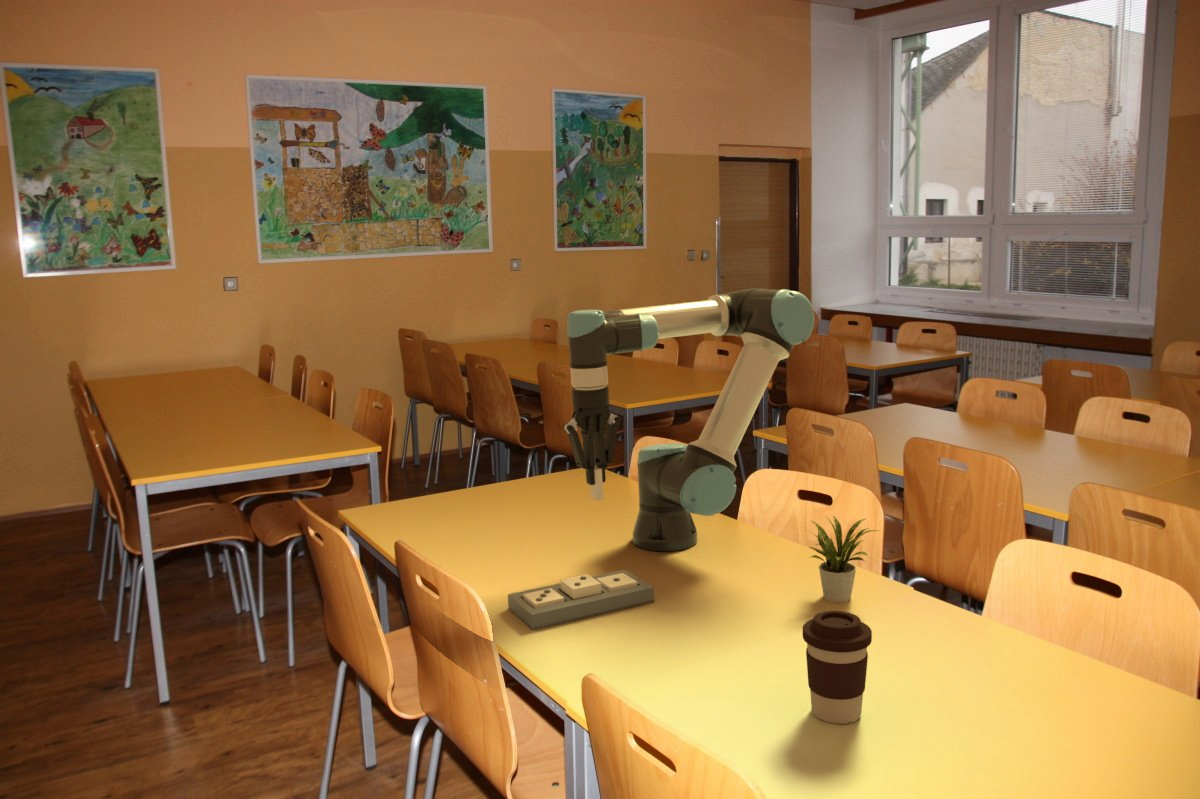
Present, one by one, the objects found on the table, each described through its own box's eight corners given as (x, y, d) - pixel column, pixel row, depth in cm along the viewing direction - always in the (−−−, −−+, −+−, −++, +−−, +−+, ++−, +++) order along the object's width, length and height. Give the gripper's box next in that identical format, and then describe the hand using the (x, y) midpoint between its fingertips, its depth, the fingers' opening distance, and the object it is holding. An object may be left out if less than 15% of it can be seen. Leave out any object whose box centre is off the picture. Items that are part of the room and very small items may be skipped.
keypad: (625, 583, 202) (624, 569, 202) (654, 601, 192) (653, 587, 191) (508, 608, 191) (507, 594, 190) (532, 630, 180) (531, 614, 180)
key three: (551, 597, 191) (551, 586, 191) (564, 607, 186) (564, 596, 186) (523, 603, 189) (522, 593, 188) (535, 614, 183) (535, 603, 183)
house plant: (887, 589, 194) (888, 510, 191) (875, 614, 182) (876, 530, 179) (815, 580, 200) (815, 504, 197) (799, 605, 188) (799, 523, 185)
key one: (623, 582, 198) (622, 571, 198) (637, 591, 193) (637, 580, 193) (596, 587, 196) (596, 577, 195) (610, 597, 191) (610, 586, 190)
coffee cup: (794, 700, 150) (794, 608, 148) (857, 695, 151) (858, 603, 149) (813, 732, 141) (814, 634, 138) (880, 727, 141) (882, 629, 139)
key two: (587, 583, 195) (587, 573, 194) (601, 593, 189) (601, 582, 189) (560, 589, 192) (560, 578, 192) (573, 599, 187) (573, 588, 186)
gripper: (607, 380, 204) (614, 488, 208) (552, 389, 197) (561, 500, 202) (626, 384, 197) (633, 496, 202) (570, 393, 191) (578, 509, 195)
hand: (597, 498), depth 202 cm, fingers closed
